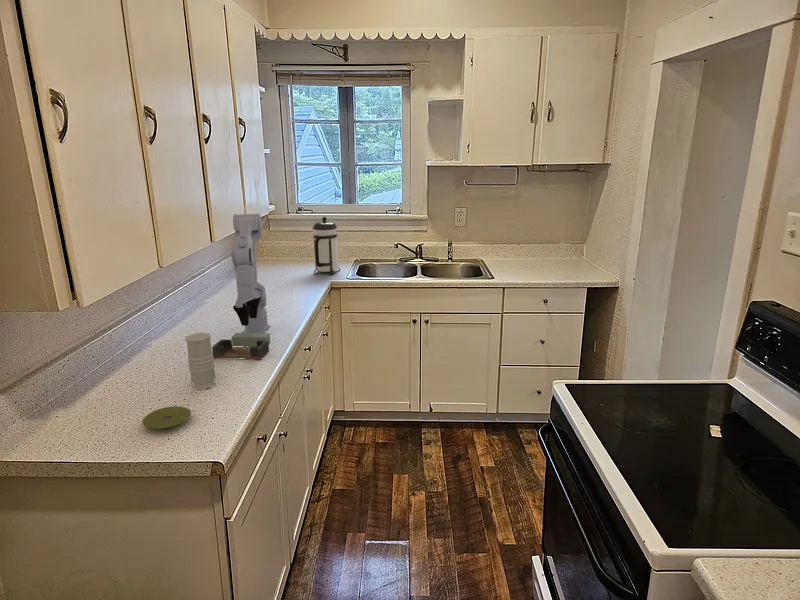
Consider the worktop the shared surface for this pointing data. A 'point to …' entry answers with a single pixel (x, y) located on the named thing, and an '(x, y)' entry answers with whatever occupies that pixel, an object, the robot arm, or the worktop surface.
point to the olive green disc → (166, 417)
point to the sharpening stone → (249, 339)
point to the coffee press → (325, 246)
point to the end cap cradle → (240, 350)
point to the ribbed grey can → (200, 360)
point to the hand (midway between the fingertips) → (249, 321)
